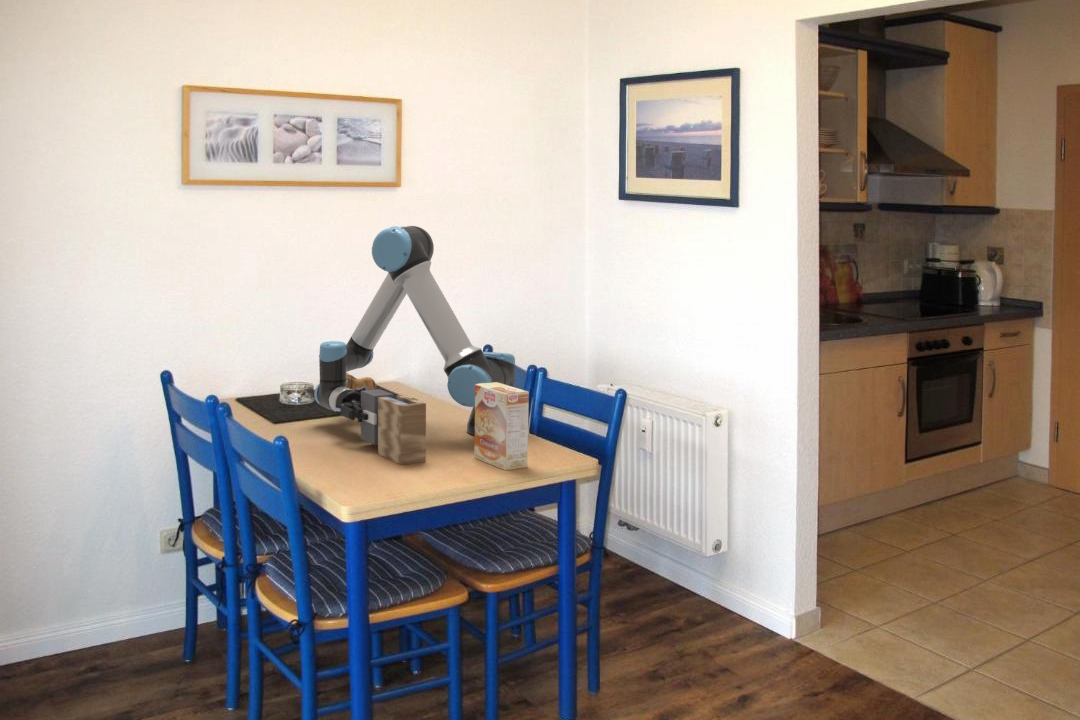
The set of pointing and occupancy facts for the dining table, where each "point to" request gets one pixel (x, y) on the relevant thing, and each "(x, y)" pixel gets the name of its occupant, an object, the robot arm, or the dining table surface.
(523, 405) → the coffeecake box
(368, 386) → the lion figurine
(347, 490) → the dining table surface
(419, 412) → the box
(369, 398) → the block
